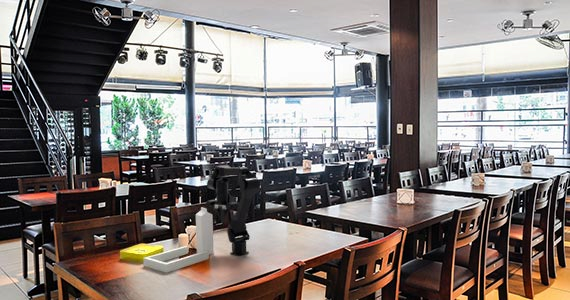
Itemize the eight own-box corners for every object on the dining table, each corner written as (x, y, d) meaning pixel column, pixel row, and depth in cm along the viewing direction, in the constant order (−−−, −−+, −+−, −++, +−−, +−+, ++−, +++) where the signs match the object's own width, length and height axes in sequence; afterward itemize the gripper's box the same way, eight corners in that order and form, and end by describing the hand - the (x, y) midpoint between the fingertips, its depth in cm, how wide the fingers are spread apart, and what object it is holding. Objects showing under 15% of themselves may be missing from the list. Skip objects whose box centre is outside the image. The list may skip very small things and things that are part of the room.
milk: (202, 256, 206) (200, 209, 205) (196, 253, 211) (195, 207, 210) (213, 253, 210) (212, 207, 208) (208, 250, 215) (206, 206, 213)
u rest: (208, 258, 201) (208, 251, 201) (166, 272, 183) (166, 264, 183) (186, 253, 211) (185, 246, 211) (143, 265, 193) (143, 258, 193)
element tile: (165, 254, 211) (165, 245, 210) (142, 263, 197) (142, 253, 197) (141, 251, 217) (141, 242, 217) (118, 260, 204) (117, 250, 203)
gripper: (247, 190, 219) (247, 221, 220) (220, 187, 231) (221, 217, 231) (231, 193, 210) (231, 225, 211) (204, 190, 222) (205, 220, 223)
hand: (223, 221), depth 219 cm, fingers closed
